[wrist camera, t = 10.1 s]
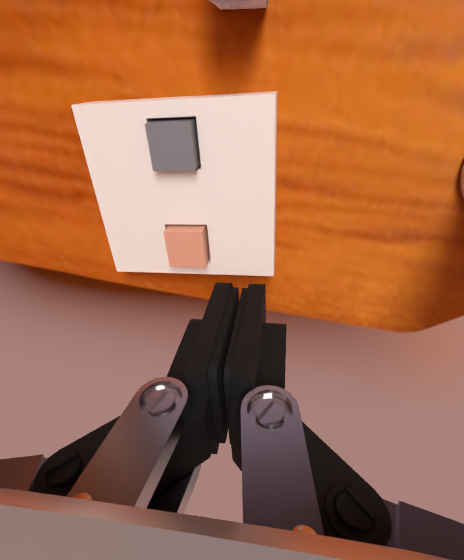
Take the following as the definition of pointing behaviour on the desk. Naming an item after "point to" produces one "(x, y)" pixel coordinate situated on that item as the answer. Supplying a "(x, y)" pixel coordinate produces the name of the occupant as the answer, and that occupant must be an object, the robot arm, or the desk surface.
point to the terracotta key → (187, 245)
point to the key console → (186, 180)
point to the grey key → (173, 144)
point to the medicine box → (239, 4)
